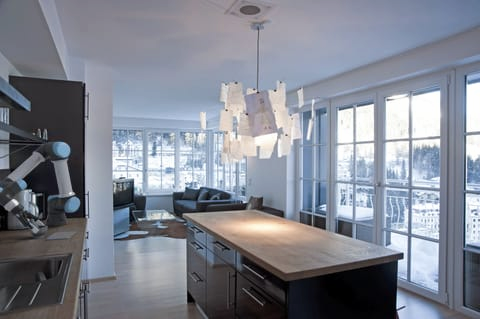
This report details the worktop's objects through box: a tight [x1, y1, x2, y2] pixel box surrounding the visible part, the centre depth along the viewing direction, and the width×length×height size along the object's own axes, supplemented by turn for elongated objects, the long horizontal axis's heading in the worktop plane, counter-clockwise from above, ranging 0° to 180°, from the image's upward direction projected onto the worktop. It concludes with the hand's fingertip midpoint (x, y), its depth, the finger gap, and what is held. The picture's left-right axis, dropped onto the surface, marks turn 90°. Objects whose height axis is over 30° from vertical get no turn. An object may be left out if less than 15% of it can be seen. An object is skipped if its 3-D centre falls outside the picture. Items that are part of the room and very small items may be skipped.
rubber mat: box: [45, 231, 76, 241], centre depth 219 cm, size 20×13×1 cm, turn 15°
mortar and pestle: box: [28, 219, 49, 240], centre depth 216 cm, size 11×9×12 cm
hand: (40, 229), depth 216 cm, fingers open, 13 cm apart
